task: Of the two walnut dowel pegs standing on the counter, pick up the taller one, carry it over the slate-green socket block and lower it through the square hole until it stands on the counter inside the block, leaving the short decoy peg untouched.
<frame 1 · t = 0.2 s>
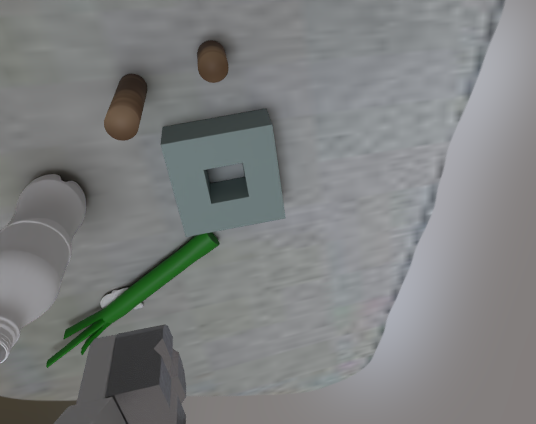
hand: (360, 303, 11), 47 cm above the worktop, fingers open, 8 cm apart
long peg: (133, 87, 55), on the worktop
hole block: (224, 164, 61), on the worktop
water bottle: (59, 193, 60), on the worktop
green onion: (130, 293, 69), on the worktop
short peg: (211, 54, 54), on the worktop
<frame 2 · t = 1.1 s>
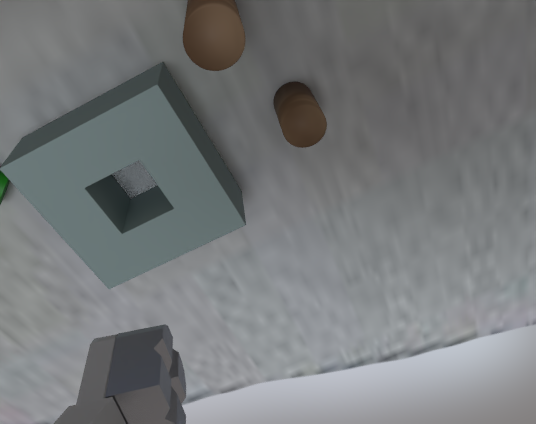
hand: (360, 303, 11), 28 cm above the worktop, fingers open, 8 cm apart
long peg: (211, 0, 33), on the worktop
hole block: (138, 166, 39), on the worktop
short peg: (293, 101, 38), on the worktop
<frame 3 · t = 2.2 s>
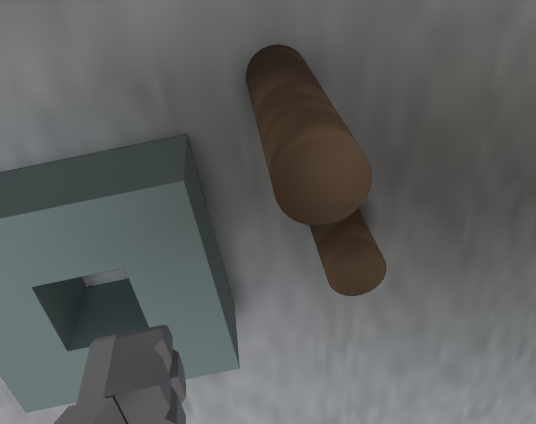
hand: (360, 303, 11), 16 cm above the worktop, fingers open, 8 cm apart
long peg: (276, 76, 24), on the worktop
hole block: (110, 251, 29), on the worktop
short peg: (334, 219, 29), on the worktop
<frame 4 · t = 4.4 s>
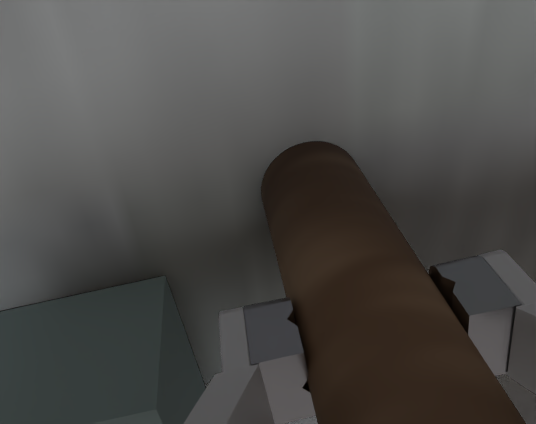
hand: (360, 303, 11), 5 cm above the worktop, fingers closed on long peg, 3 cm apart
long peg: (311, 188, 15), on the worktop, touching gripper
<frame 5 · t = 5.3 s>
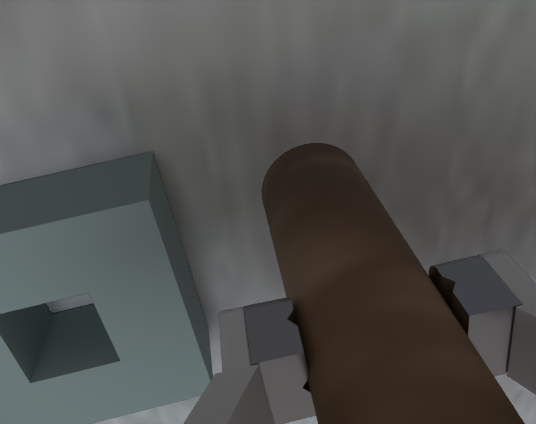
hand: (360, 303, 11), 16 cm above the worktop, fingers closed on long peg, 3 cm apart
long peg: (311, 189, 15), point 11 cm above the worktop, touching gripper
hole block: (75, 274, 27), on the worktop
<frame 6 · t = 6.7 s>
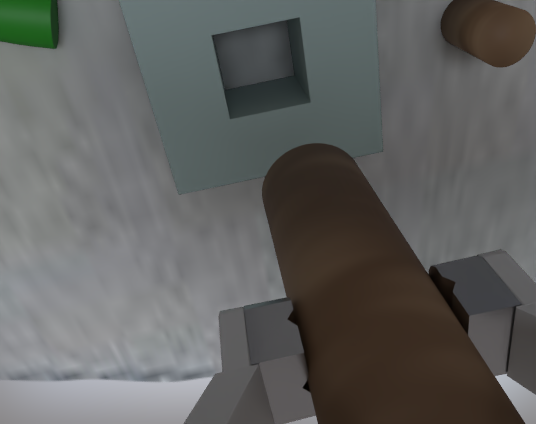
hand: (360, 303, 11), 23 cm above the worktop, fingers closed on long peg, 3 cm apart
long peg: (312, 189, 15), point 18 cm above the worktop, touching gripper
hole block: (253, 47, 30), on the worktop
short peg: (464, 20, 31), on the worktop
when the fingers open (6 cm above the worktop, at t = 9.5 s): long peg drops 1 cm, resting in hole block.
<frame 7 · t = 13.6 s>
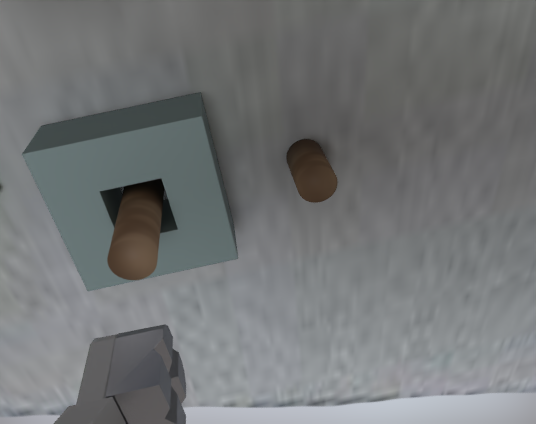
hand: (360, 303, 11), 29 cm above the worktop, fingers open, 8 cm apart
long peg: (146, 179, 40), resting in hole block
hole block: (145, 179, 40), on the worktop
short peg: (304, 156, 41), on the worktop
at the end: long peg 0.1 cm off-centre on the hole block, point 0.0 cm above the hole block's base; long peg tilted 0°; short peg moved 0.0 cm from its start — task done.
